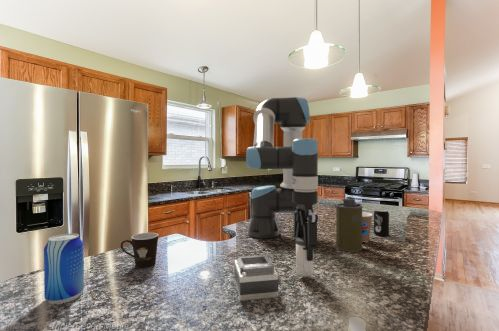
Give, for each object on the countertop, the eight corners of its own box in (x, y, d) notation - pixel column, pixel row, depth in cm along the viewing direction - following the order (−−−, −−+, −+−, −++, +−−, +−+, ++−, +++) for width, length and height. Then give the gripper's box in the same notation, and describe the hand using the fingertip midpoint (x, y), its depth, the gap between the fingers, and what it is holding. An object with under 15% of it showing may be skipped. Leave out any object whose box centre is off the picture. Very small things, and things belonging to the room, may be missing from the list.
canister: (349, 253, 102) (350, 201, 102) (330, 245, 112) (330, 198, 111) (369, 249, 107) (369, 199, 107) (348, 242, 117) (348, 196, 116)
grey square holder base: (234, 279, 80) (234, 255, 80) (267, 277, 82) (267, 253, 82) (240, 300, 68) (240, 271, 68) (278, 296, 70) (278, 268, 70)
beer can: (58, 290, 74) (57, 232, 74) (89, 289, 74) (89, 232, 74) (36, 307, 65) (35, 242, 65) (72, 305, 66) (71, 241, 66)
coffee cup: (347, 242, 116) (347, 214, 116) (348, 236, 126) (348, 210, 126) (373, 245, 112) (373, 216, 112) (372, 238, 122) (372, 212, 122)
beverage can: (390, 237, 124) (390, 211, 124) (375, 236, 125) (375, 211, 125) (386, 233, 130) (386, 208, 130) (372, 232, 132) (372, 208, 131)
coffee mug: (163, 261, 94) (163, 233, 94) (147, 271, 86) (146, 240, 86) (137, 258, 98) (137, 231, 98) (118, 266, 90) (118, 237, 90)
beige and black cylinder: (293, 269, 83) (293, 237, 83) (309, 267, 84) (309, 236, 84) (299, 276, 78) (299, 243, 78) (316, 275, 79) (316, 241, 79)
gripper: (283, 187, 89) (283, 256, 89) (304, 194, 71) (304, 281, 71) (304, 186, 90) (304, 254, 91) (330, 194, 72) (330, 278, 73)
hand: (304, 266), depth 81 cm, fingers closed on beige and black cylinder, 5 cm apart
